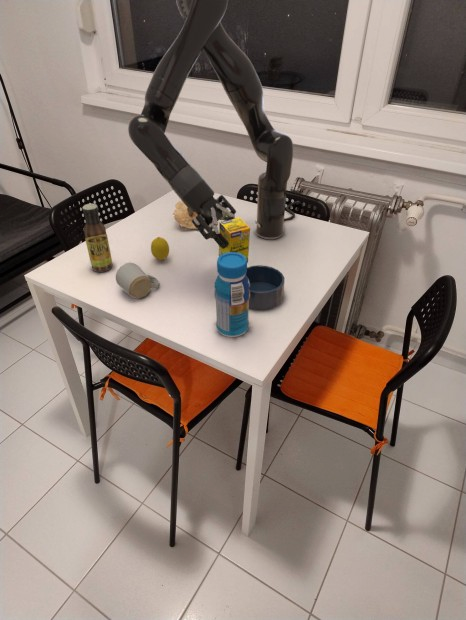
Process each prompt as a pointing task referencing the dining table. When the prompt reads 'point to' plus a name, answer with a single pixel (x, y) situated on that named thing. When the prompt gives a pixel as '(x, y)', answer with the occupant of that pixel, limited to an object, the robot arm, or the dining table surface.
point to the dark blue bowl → (265, 287)
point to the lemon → (159, 248)
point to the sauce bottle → (96, 239)
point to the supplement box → (235, 236)
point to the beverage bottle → (232, 294)
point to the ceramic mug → (135, 280)
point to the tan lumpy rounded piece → (184, 215)
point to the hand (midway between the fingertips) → (233, 239)
